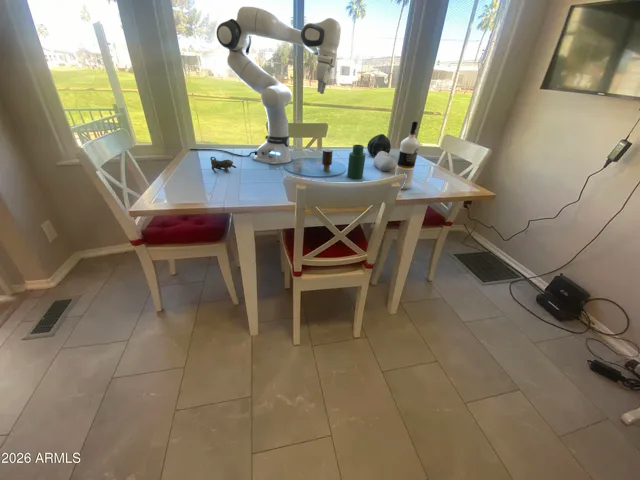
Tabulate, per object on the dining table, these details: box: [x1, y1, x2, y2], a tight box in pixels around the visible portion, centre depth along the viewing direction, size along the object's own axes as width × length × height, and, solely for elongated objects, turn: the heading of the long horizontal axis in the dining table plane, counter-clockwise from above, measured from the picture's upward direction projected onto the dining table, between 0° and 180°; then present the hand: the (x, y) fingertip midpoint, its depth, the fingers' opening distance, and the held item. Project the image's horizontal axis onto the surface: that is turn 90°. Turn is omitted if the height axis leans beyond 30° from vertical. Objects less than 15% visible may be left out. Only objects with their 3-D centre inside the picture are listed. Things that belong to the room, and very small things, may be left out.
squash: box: [366, 133, 392, 157], centre depth 177 cm, size 14×15×15 cm
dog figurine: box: [209, 156, 237, 174], centre depth 139 cm, size 12×6×7 cm, turn 94°
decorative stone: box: [372, 151, 396, 172], centre depth 156 cm, size 17×10×10 cm
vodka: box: [394, 120, 421, 190], centre depth 126 cm, size 9×9×30 cm
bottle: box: [346, 144, 366, 181], centre depth 139 cm, size 8×8×16 cm
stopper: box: [321, 148, 333, 173], centre depth 147 cm, size 5×5×11 cm
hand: (320, 93), depth 136 cm, fingers open, 8 cm apart
